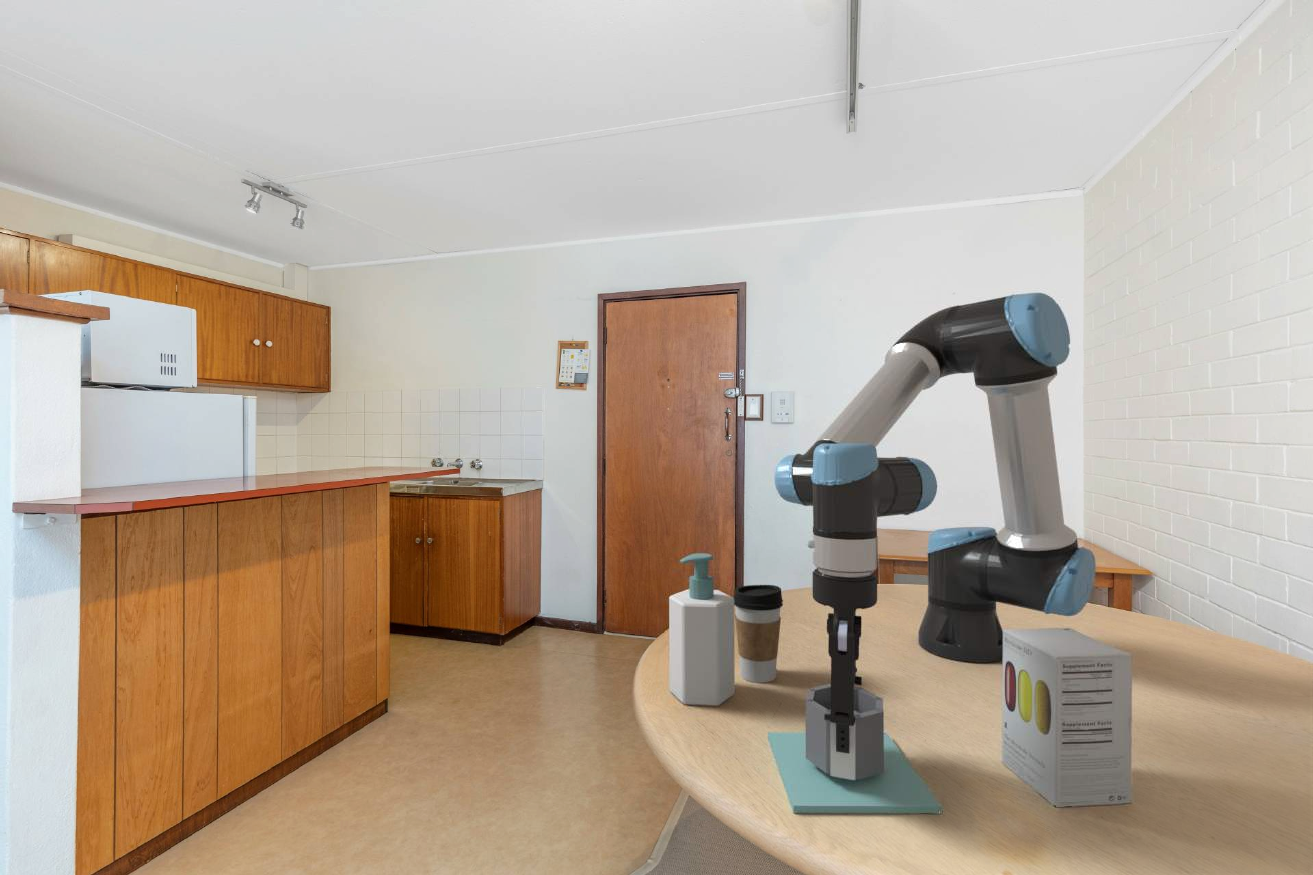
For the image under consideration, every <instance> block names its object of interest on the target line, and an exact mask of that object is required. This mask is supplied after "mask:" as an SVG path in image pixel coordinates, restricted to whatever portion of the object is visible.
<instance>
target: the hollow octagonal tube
mask: <svg viewBox="0 0 1313 875" xmlns="http://www.w3.org/2000/svg"><path fill="white" fill-rule="evenodd" d="M829 709H831V683H827V684H823V685H819V686H815V687H810V688H808V689H807V695H806V698H805V732H806V759H808V760H809V761H810V762H812V763H813V764H814V765H816V766H817V767H818V768H820V769H821V770H822V771H824V772H825V773H826V774H830V721H826V720H824V714H827V715H829V714H830V713H831V711H830V710H829ZM854 710H855V711H857V712H859V713H860V714H854V716H855V779H859V780H860V779H863V778H866V777H869V776H873V775H876V774H879V773H882V772H884V732H885V729H884V728H885V726H884V723H885V721H884V720H885V719H884V718H885V716H884V714H885V713H884V699H883V698H882V697H880V696H878V695H876V694H875V693H873V692H871V691H869V690H866V689H864V688H863V687H860V686H854Z"/></svg>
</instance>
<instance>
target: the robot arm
mask: <svg viewBox="0 0 1313 875" xmlns="http://www.w3.org/2000/svg"><path fill="white" fill-rule="evenodd" d="M1070 344H1071V335H1070V330H1069V325H1068V321H1067V319H1066V316H1065V314H1064V312H1063V310H1062V308H1061V306H1059V303H1057V302H1056V300H1055V299H1054V298H1052V297H1051V296H1050V295H1048V294H1046V293H1042V292H1029V293H1019V294H1017V293H1016V294H1010V295H1007V296H1006V295H1005V296H1002V297H997V298H992V299H987V300H981V301H977V302H972V303H971V302H970V303H966V304H965V303H964V304H961V305H954V306H949V307H946V308H944V309H941V310H939V311H937V312H934V313H932V314H931V315H929V316H927V317H925V318H924V319H923V320H921V321H919V322H918V323H917V324H915V325H914V326H913V327H912V328H910V329H909V330H908V331H906V333H904V334H903V335H901V337H899V338H898V339H897V341H896V342H895V343H894V344H893V345H892V346H891V347H890V348H889V349H888V351H887V352H886V354H885V357H884V363H883V365H882V366H881V367H880V369H879V370H878V371H877V372H876V373H875V374H874V375H873V376H872V377H871V378H870V379H869V381H868V382H867V383H866V384H865V386H863V387H862V389H861V390H860V391H859V392H858V393H857V394H856V396H855V397H854V398H852V400H851V401H850V403H848V405H847V406H845V408H844V409H843V410H842V411H841V412H840V413H839V415H838V416H837V417H836V418H835V420H833V422H832V423H830V425H829V426H828V427H827V428H826V430H824V432H822V434H821V435H820V437H818V438H817V439H816V441H815V442H814V443H813V445H811V447H809V448H808V450H807V451H805V453H804V454H801V453H795V454H791V455H789V454H788V455H786V456H785V457H782V459H780V461H779V462H778V464H777V466H776V468H775V471H774V479H773V480H774V485H775V489H776V491H777V494H778V495H779V497H781V498H782V499H783V500H784V501H786V502H788V503H793V504H796V505H797V504H798V505H800V506H801V505H802V506H805V507H812V517H813V518H812V523H813V524H812V534H813V535H812V539H813V540H808V542H807V547H808V548H809V549H814V550H813V551H812V565H813V566H815V569H814V570H813V571H812V598H813V600H814V601H815V602H816V603H817V604H819V605H823V606H824V607H825V606H828V607H829V608H831V609H833V613H831V612H828V614H827V619H826V632H827V634H828V646H827V647H828V649H827V650H828V651H827V653H828V656H829V657H830V665H831V666H830V684H831V713H830V714H829V715H827V714H824V720H826V721H830V776H834V777H839V778H845V779H850V780H855V716H854V687H855V686H863V681H862V680H863V677H862V676H857V675H856V674H857V671H858V668H857V661H858V660H859V658H860V638H861V637H862V615H856V614H857V613H856V612H857V610H858V609H859V610H860V609H861V610H866V609H869V608H872V607H874V606H875V605H876V604H877V603H878V576H877V574H875V572H874V571H876V570H877V569H878V567H879V564H878V563H879V562H878V561H879V560H878V558H879V557H878V556H879V555H878V554H879V553H878V552H879V551H878V547H879V546H878V542H879V540H878V538H879V537H878V518H882V517H891V516H899V515H901V516H902V515H903V516H910V515H911V514H914V513H917V512H921V511H924V510H926V509H927V508H928V507H929V506H930V505H931V504H932V503H933V502H934V500H935V498H936V495H937V492H938V482H937V476H936V475H935V473H934V471H933V469H932V468H931V467H930V465H928V464H927V463H926V462H925V461H923V460H922V459H919V458H915V457H909V456H895V457H879V456H878V453H877V452H878V451H877V450H878V449H877V447H878V445H879V444H880V443H881V442H882V440H883V439H884V438H885V437H886V435H888V433H889V432H890V430H892V428H893V427H894V425H895V424H896V423H897V422H898V420H899V419H900V418H901V417H902V416H903V414H904V413H905V412H906V411H907V409H908V408H909V407H910V405H912V403H913V402H914V400H915V399H916V398H917V397H918V396H919V395H920V393H921V392H922V391H924V390H927V389H930V388H932V387H933V386H934V385H935V384H937V382H938V381H939V379H941V378H944V377H948V376H951V375H956V374H971V373H973V378H974V384H975V387H976V388H978V389H980V390H982V391H983V392H984V393H985V394H986V397H987V404H988V411H989V419H990V426H991V434H992V439H993V440H992V441H993V448H994V455H995V462H996V470H997V476H998V484H999V492H1000V498H1001V506H1002V514H1003V519H1004V526H1003V527H1002V528H1001V529H1000V530H999V531H998V532H997V530H996V529H995V528H994V527H988V526H961V527H948V528H946V527H945V528H940V529H936V530H933V531H932V532H931V533H929V536H928V540H927V551H926V555H927V606H926V609H925V612H924V615H923V617H922V621H921V623H920V626H919V629H918V636H917V637H918V640H917V641H918V645H919V646H920V647H921V648H922V649H923V650H925V651H927V652H929V653H931V654H932V655H933V654H934V655H937V656H938V657H941V658H945V659H950V660H956V661H961V662H967V663H968V662H969V663H994V662H1000V661H1003V630H1004V629H1003V628H1002V624H1001V622H1000V619H999V616H998V614H997V603H1000V604H1005V605H1009V606H1013V607H1018V608H1023V609H1029V610H1032V611H1036V612H1037V611H1038V612H1042V613H1044V614H1045V615H1050V614H1051V615H1058V616H1061V617H1062V616H1063V617H1072V616H1076V615H1078V614H1079V613H1081V612H1082V610H1083V609H1084V608H1085V607H1086V605H1087V604H1088V602H1089V599H1090V596H1091V593H1092V591H1093V587H1094V583H1095V580H1096V579H1095V578H1096V566H1097V564H1096V557H1095V555H1094V553H1093V551H1092V550H1091V549H1089V548H1086V547H1085V546H1081V547H1079V543H1078V535H1077V533H1076V531H1075V530H1073V529H1072V528H1071V527H1069V526H1068V525H1066V524H1065V519H1064V511H1063V503H1062V493H1061V488H1060V479H1059V478H1060V477H1059V469H1058V462H1057V453H1056V452H1057V451H1056V445H1055V436H1054V429H1053V420H1052V412H1051V404H1050V403H1051V402H1050V397H1049V388H1048V386H1049V385H1050V383H1051V382H1052V381H1053V380H1054V379H1055V378H1056V377H1057V376H1058V368H1057V367H1058V366H1059V365H1062V364H1064V363H1065V362H1066V361H1067V360H1068V357H1069V355H1070V350H1071V349H1070V347H1069V346H1070Z"/></svg>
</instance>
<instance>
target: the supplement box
mask: <svg viewBox="0 0 1313 875" xmlns="http://www.w3.org/2000/svg"><path fill="white" fill-rule="evenodd" d="M1002 630H1003V660H1002V691H1001V692H1002V694H1001V696H1002V698H1001V699H1002V700H1001V701H1002V704H1001V706H1002V707H1001V708H1002V709H1001V710H1002V712H1001V717H1002V718H1001V719H1002V720H1001V763H1003V764H1004V765H1005V766H1007V768H1009V770H1011V771H1012V772H1013V773H1014V774H1016V775H1017V776H1018V777H1019V778H1020V779H1021V780H1023V781H1024V782H1025V783H1027V785H1029V786H1030V787H1031V788H1032V789H1033V790H1035V791H1036V793H1038V794H1039V795H1040V794H1041V797H1043V798H1044V799H1045V800H1046V799H1047V800H1046V801H1047V802H1049V803H1050V804H1051V803H1052V804H1053V805H1055V806H1057V807H1056V808H1067V807H1066V806H1072V807H1085V806H1086V807H1089V806H1090V807H1091V806H1103V805H1104V806H1105V805H1124V803H1125V804H1132V745H1133V744H1132V741H1133V740H1132V733H1133V732H1132V727H1133V726H1132V722H1133V720H1132V719H1133V716H1132V715H1133V714H1132V713H1133V712H1132V711H1133V707H1132V706H1133V704H1132V702H1133V655H1132V654H1131V653H1130V652H1127V651H1124V650H1121V649H1119V648H1117V647H1114V646H1112V645H1109V644H1107V643H1104V642H1102V641H1100V640H1098V639H1095V638H1093V637H1091V636H1088V635H1086V634H1084V633H1082V632H1079V631H1077V630H1075V628H1074V629H1073V628H1071V627H1046V628H1045V627H1042V628H1039V627H1038V628H1009V629H1008V628H1006V629H1002ZM1052 804H1051V805H1052ZM1053 805H1052V806H1053ZM1055 806H1054V807H1055ZM1064 806H1065V807H1064Z"/></svg>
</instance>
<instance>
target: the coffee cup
mask: <svg viewBox="0 0 1313 875" xmlns="http://www.w3.org/2000/svg"><path fill="white" fill-rule="evenodd" d="M732 597H733V598H734V608H735V614H734V621H735V630H736V639H737V649H738V657H739V671H740V676H741V678H742V679H743V680H746V681H748V682H751V683H756V684H757V683H762V684H763V683H764V684H765V683H770V682H772V681H774V680H775V679H776V676H777V660H778V652H779V643H780V642H779V641H780V630H781V619H782V617H781V608H782V607H783V605H784V604H783V602H784V600H783V594H782V588H781V587H779V586H777V585H774V584H748V585H741V586H738V587H736V588H735V589H734V592H733V596H732Z"/></svg>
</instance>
